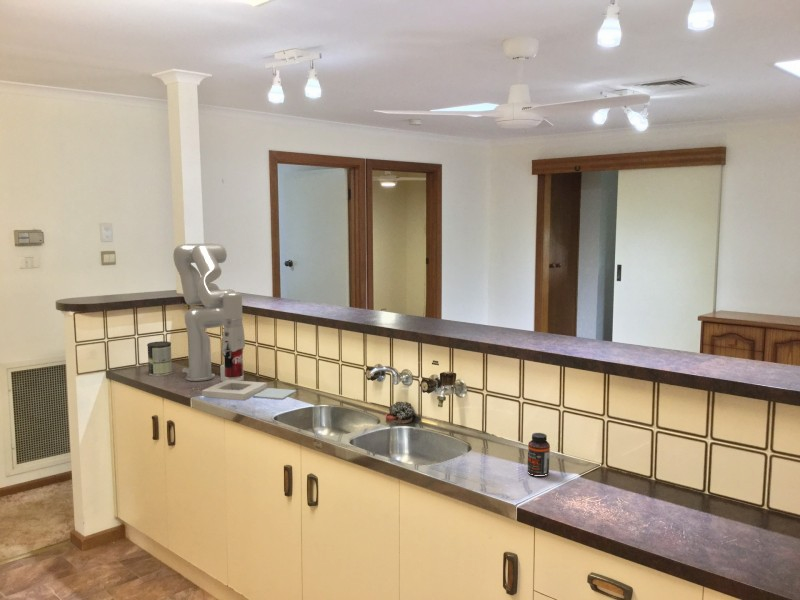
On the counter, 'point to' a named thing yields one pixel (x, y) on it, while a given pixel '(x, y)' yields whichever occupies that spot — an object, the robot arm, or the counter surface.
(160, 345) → the coffee can
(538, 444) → the supplement bottle
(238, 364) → the soda can
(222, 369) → the medicine bottle
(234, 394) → the collar dock
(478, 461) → the counter surface
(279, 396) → the mat
